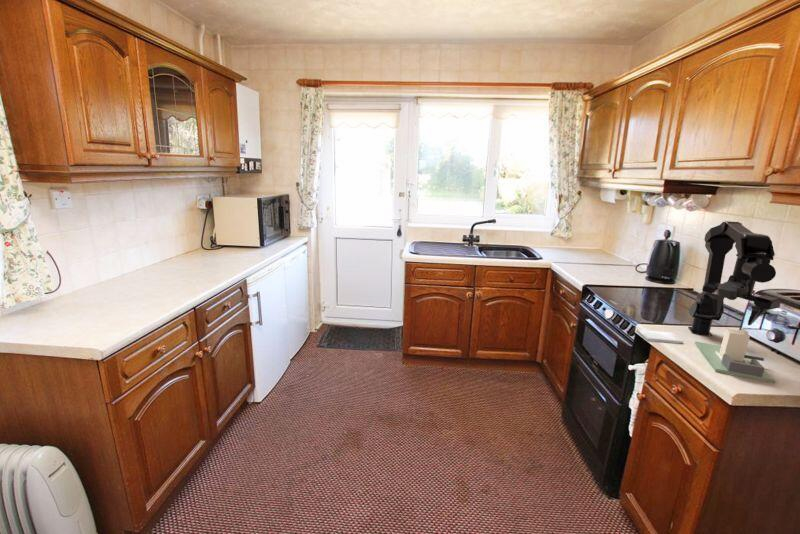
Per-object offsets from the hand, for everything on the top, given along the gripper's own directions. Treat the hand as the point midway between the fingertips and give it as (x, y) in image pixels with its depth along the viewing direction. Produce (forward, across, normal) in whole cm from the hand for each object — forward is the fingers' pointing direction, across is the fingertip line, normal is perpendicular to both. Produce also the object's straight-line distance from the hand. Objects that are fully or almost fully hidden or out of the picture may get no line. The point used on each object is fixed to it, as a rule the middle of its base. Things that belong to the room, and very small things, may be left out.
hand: (732, 319), depth 124 cm
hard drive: (+14, -18, -6) cm, 23 cm away
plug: (+12, +5, +1) cm, 13 cm away
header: (+12, +9, -7) cm, 17 cm away
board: (+13, +3, -2) cm, 14 cm away
